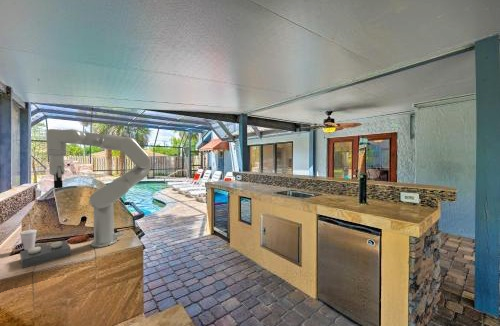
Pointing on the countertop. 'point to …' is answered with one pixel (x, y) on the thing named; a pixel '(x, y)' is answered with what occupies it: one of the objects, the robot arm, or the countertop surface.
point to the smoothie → (28, 238)
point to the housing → (44, 254)
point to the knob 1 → (34, 250)
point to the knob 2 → (56, 244)
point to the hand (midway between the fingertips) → (58, 187)
